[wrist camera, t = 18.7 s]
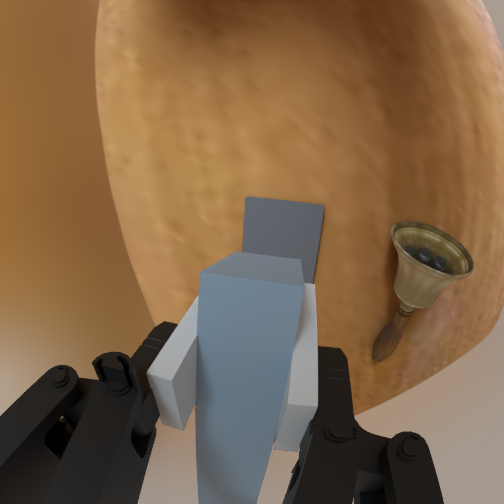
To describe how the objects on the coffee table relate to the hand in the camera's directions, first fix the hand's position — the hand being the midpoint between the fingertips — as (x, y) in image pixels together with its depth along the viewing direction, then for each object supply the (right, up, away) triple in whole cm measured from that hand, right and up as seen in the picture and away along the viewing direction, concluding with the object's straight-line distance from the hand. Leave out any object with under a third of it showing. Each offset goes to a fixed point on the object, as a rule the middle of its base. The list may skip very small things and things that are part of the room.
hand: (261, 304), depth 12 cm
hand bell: (+15, +3, +6) cm, 16 cm away
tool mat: (+2, -1, +15) cm, 15 cm away
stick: (-1, -8, +2) cm, 8 cm away
